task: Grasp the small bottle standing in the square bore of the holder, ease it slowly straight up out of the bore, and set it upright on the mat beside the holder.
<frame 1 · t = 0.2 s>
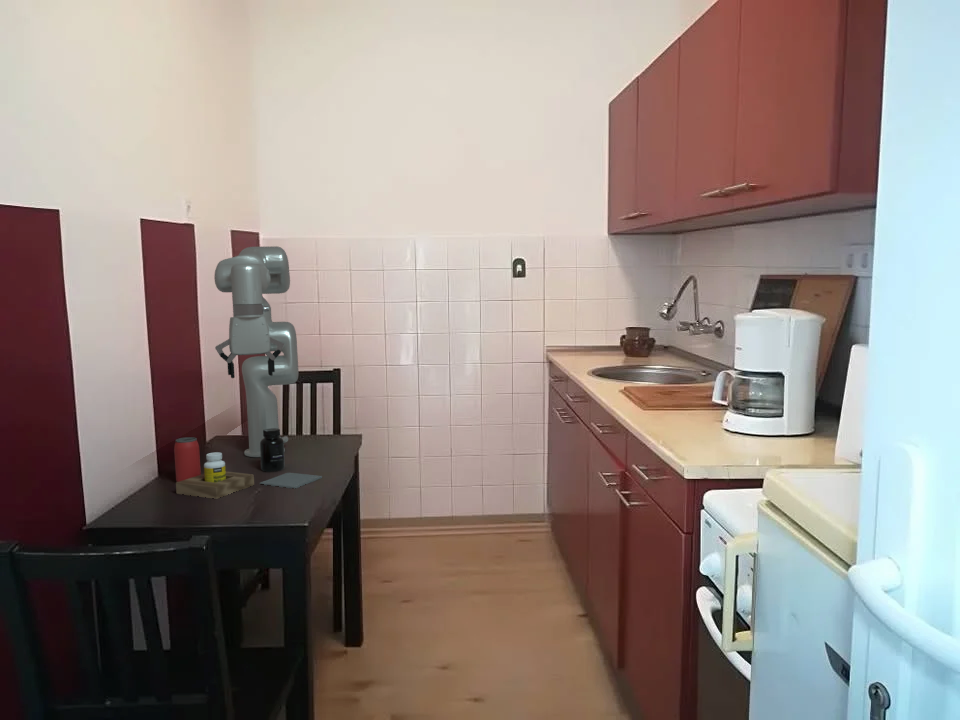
hand: (251, 376, 200), 31 cm above the table, tool pointing down, fingers open, 9 cm apart
supplement bottle: (273, 470, 225), on the table
supplement bottle 2: (216, 490, 205), resting in holder
mat: (291, 481, 211), on the table
beer can: (188, 481, 214), on the table
holder: (216, 489, 205), on the table
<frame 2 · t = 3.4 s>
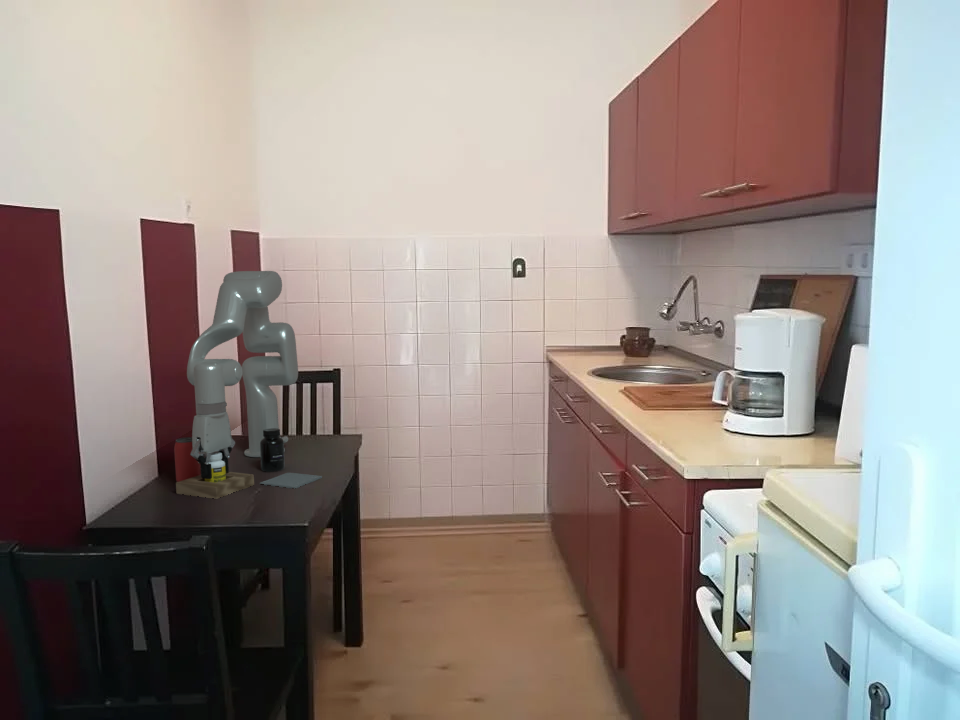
hand: (215, 474, 204), 4 cm above the table, tool pointing down, fingers closed on supplement bottle 2, 5 cm apart
supplement bottle 2: (216, 490, 205), resting in holder, touching gripper
everything else where it was.
when the fingers open (6 cm above the table, at t = 11.4 s): supplement bottle 2 drops 1 cm, resting on mat.
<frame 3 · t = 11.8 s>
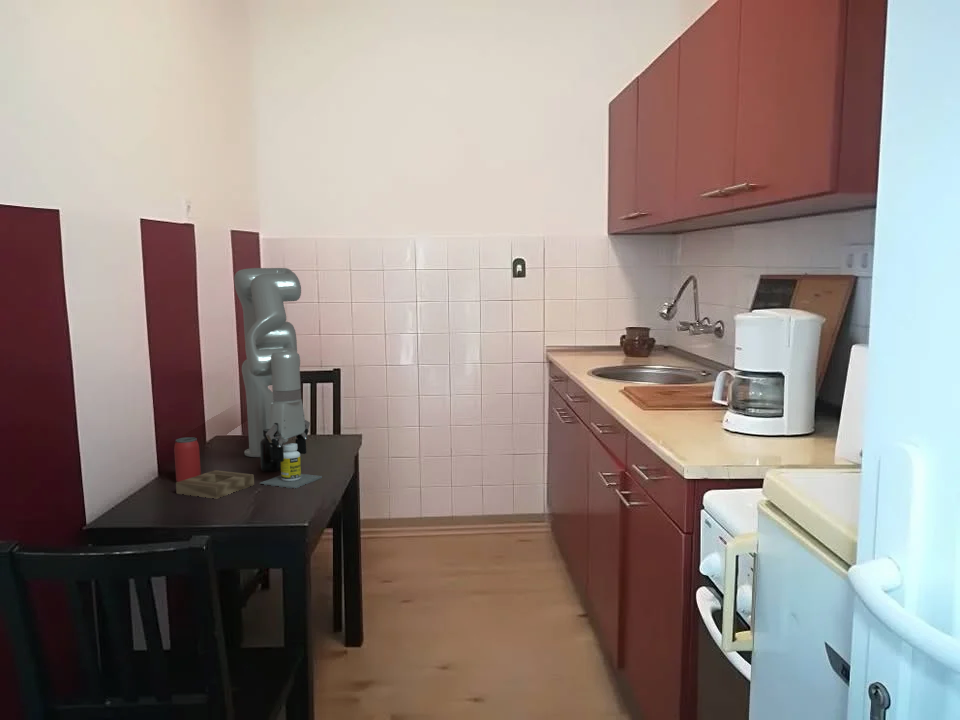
hand: (290, 457, 211), 7 cm above the table, tool pointing down, fingers open, 9 cm apart
supplement bottle 2: (291, 479, 211), resting on mat
everything else where it was.
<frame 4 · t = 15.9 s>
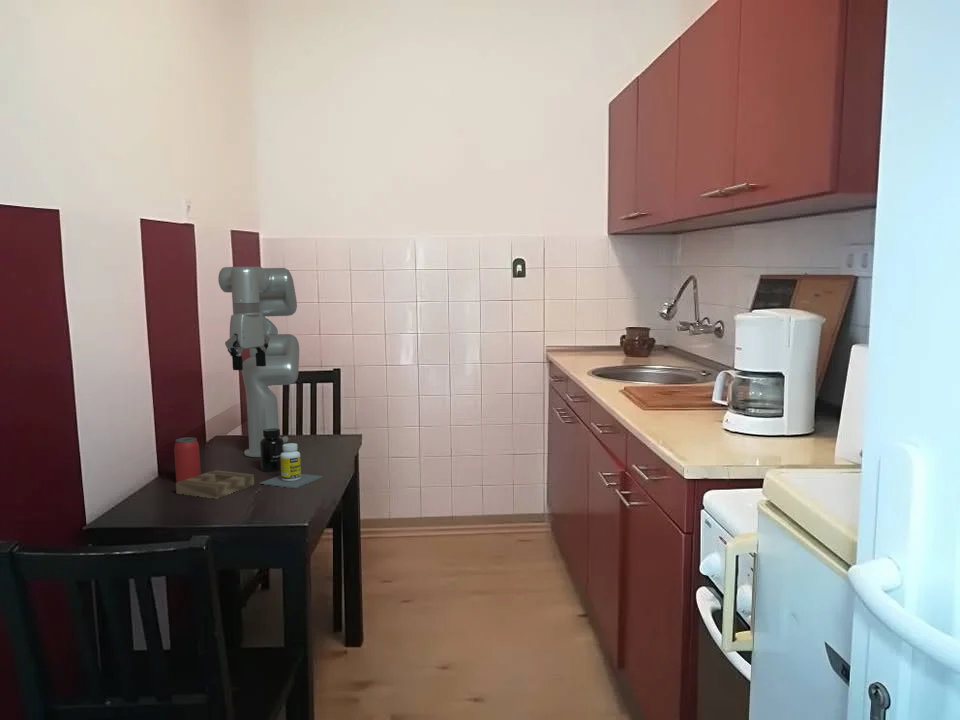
hand: (249, 368, 222), 30 cm above the table, tool pointing down, fingers open, 9 cm apart
nothing on the table moved.
at the end: supplement bottle 2 inside the target area on the mat (0.2 cm from its centre), point 0.3 cm above the mat's base; supplement bottle 2 tilted 0°; the gripper is holding nothing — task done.
